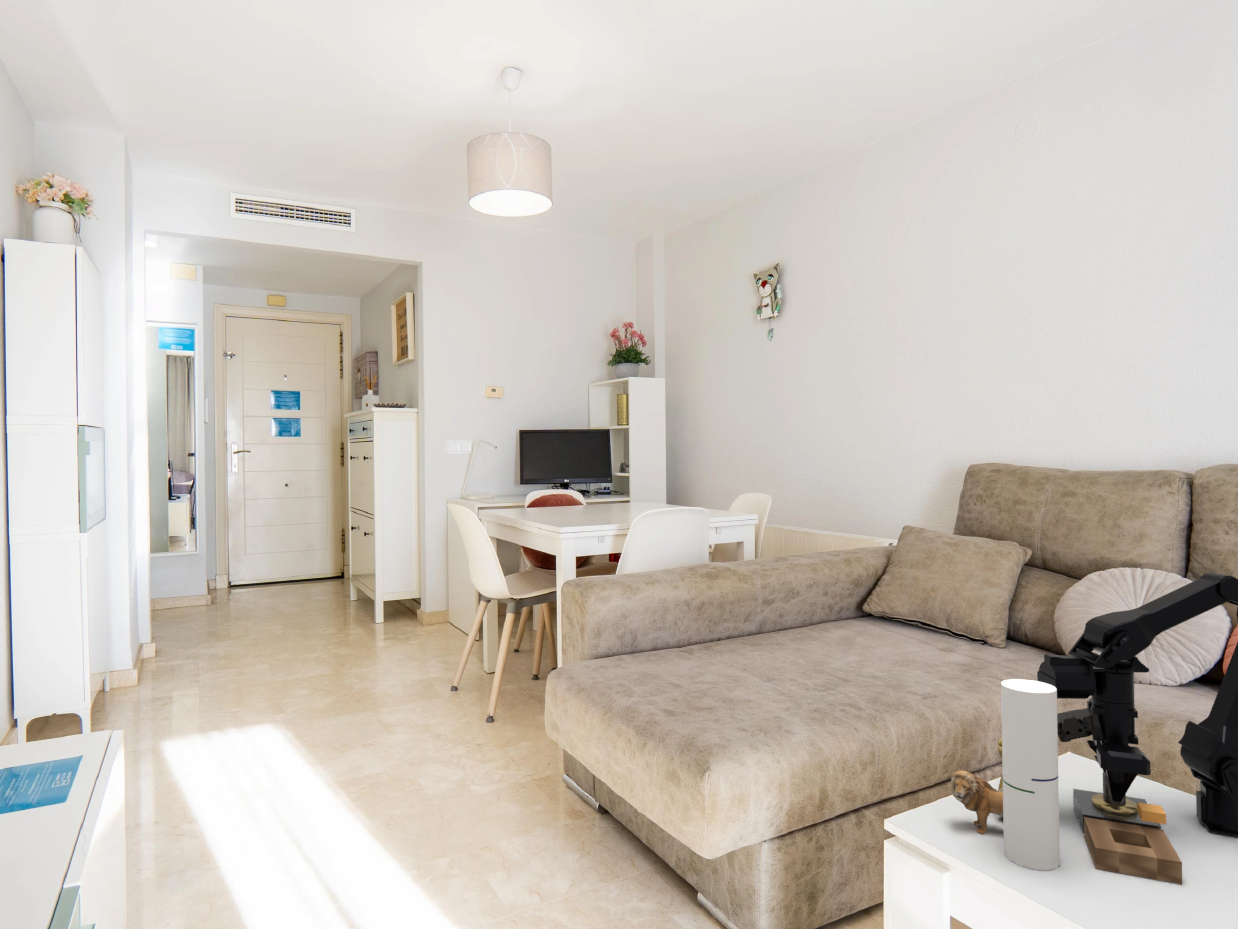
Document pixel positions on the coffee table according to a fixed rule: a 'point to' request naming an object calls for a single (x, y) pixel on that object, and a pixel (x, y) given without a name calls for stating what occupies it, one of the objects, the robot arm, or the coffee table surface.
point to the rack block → (1132, 850)
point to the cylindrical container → (1030, 773)
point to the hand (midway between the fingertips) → (1114, 797)
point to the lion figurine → (977, 797)
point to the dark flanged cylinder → (1111, 806)
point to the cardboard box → (1151, 813)
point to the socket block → (1087, 809)
